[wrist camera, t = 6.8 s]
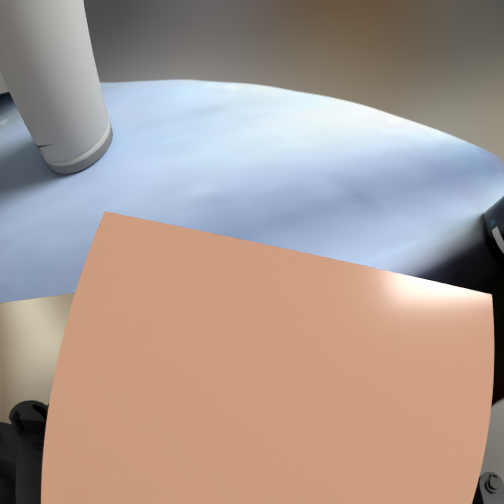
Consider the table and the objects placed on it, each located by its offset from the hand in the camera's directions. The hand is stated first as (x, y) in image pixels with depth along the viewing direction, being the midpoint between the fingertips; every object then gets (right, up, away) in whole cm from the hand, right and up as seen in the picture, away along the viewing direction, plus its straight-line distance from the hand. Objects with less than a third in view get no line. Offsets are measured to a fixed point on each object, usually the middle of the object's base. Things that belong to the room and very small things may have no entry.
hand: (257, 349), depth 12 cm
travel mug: (-15, +12, +10) cm, 21 cm away
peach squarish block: (-1, -4, +2) cm, 5 cm away
